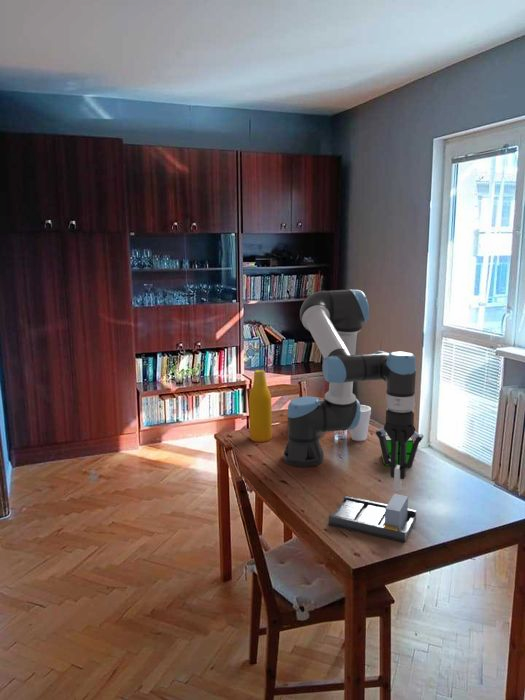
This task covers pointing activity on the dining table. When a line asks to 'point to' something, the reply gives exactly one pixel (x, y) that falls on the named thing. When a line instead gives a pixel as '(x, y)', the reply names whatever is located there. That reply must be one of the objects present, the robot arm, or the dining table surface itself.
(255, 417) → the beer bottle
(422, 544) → the dining table surface
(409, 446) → the puzzle cube
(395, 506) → the pale blue rectangular prism
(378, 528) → the rack
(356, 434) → the foam cup
